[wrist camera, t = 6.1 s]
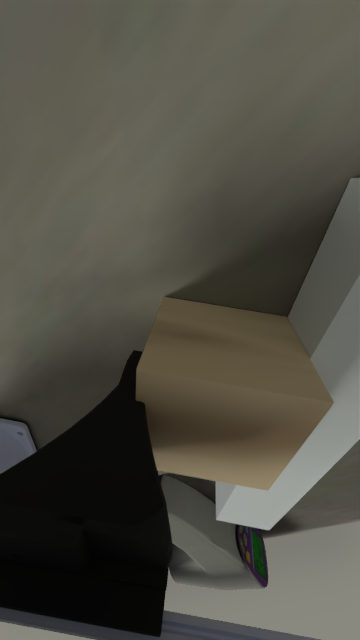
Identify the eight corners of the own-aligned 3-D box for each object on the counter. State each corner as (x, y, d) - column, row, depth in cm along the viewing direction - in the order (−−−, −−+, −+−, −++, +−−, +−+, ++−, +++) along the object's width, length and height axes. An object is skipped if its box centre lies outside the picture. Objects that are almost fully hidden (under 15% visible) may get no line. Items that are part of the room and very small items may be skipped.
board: (261, 484, 20) (269, 530, 17) (215, 475, 20) (215, 520, 17) (468, 196, 8) (591, 205, 5) (350, 178, 8) (415, 178, 5)
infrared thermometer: (173, 457, 21) (271, 530, 25) (102, 487, 27) (190, 544, 30) (162, 517, 17) (280, 594, 21) (81, 539, 23) (185, 597, 26)
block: (250, 397, 14) (268, 490, 10) (156, 381, 14) (133, 466, 10) (286, 316, 11) (334, 402, 7) (164, 296, 11) (136, 368, 7)
